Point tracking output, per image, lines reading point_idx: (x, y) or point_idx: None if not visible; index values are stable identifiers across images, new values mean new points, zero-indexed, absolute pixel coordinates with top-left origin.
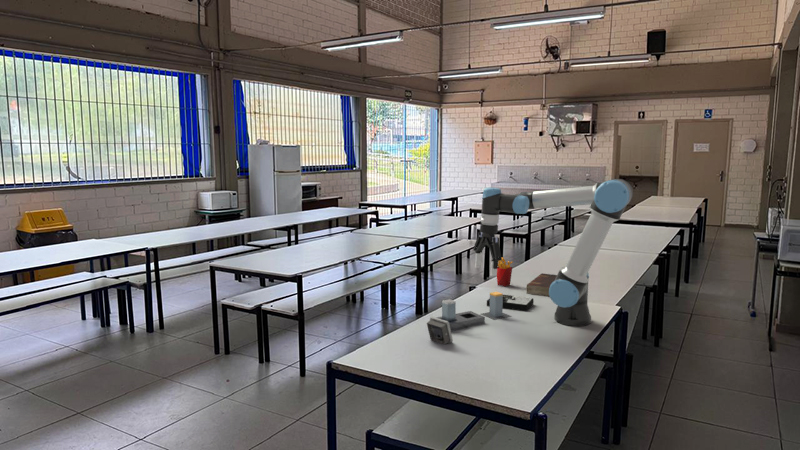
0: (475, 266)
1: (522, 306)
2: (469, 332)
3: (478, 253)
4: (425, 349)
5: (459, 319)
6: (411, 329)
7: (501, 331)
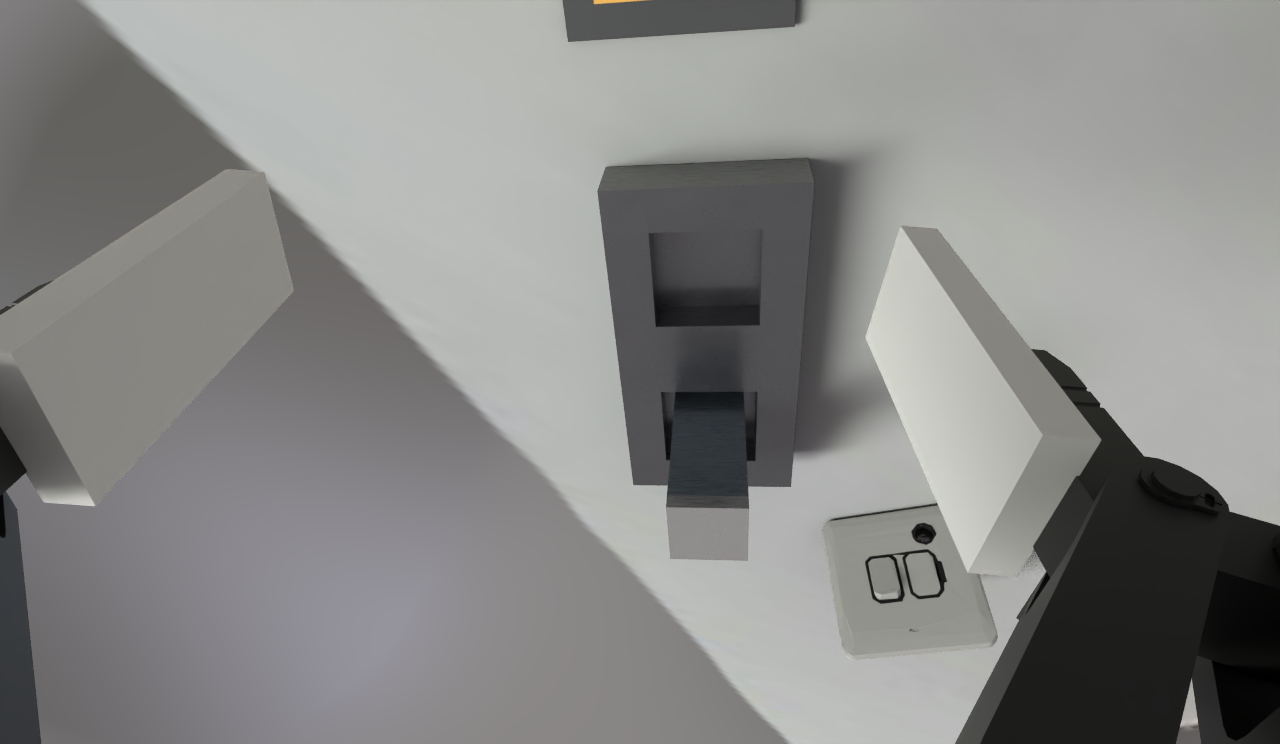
0: (270, 303)
1: None
2: None
3: (44, 452)
4: None
5: (748, 375)
6: (650, 548)
7: (1048, 149)
